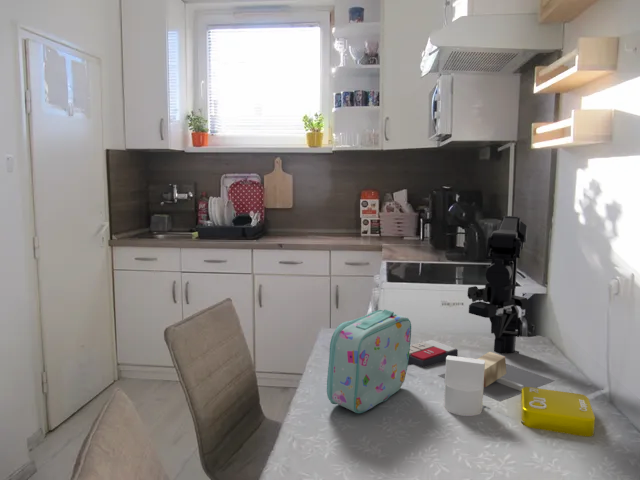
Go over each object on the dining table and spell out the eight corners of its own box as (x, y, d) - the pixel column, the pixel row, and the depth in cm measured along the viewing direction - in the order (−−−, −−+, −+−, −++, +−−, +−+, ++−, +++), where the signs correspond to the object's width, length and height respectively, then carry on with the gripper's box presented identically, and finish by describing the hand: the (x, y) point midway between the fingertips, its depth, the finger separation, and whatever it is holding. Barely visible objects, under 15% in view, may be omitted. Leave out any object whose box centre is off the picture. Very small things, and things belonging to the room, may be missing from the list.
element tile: (595, 440, 121) (596, 419, 120) (521, 428, 125) (522, 408, 125) (586, 411, 135) (587, 392, 134) (520, 402, 139) (521, 383, 139)
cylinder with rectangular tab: (483, 403, 137) (485, 356, 136) (480, 418, 129) (484, 368, 127) (445, 397, 140) (448, 351, 139) (441, 412, 132) (443, 363, 130)
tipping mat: (492, 361, 167) (492, 355, 166) (554, 383, 151) (555, 376, 150) (437, 378, 153) (438, 371, 152) (499, 404, 137) (500, 396, 136)
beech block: (489, 351, 153) (468, 364, 148) (505, 356, 149) (483, 370, 144) (490, 367, 154) (469, 381, 149) (506, 373, 150) (485, 387, 145)
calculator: (395, 348, 167) (431, 337, 175) (395, 361, 168) (430, 350, 176) (422, 358, 158) (458, 347, 167) (422, 373, 159) (458, 360, 167)
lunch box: (378, 376, 153) (380, 300, 150) (412, 385, 147) (415, 306, 144) (321, 410, 132) (323, 321, 129) (358, 422, 126) (361, 330, 123)
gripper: (497, 271, 159) (494, 324, 161) (453, 278, 148) (450, 335, 151) (532, 278, 151) (528, 334, 153) (488, 285, 140) (485, 346, 142)
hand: (497, 337), depth 150 cm, fingers closed
